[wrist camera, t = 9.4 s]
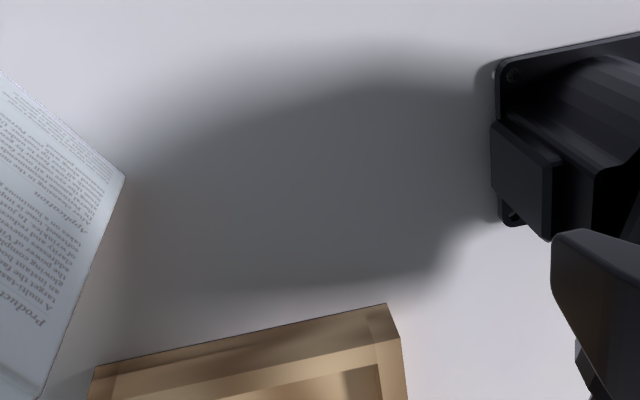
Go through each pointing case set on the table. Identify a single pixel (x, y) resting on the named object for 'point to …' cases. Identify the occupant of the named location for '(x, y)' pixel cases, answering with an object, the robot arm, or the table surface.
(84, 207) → the small box
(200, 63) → the table surface
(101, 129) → the table surface
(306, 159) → the table surface
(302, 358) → the caddy
